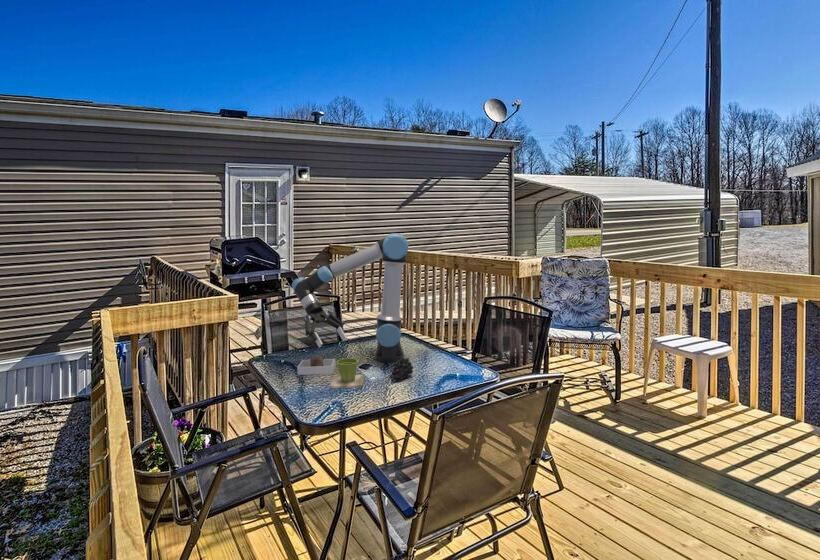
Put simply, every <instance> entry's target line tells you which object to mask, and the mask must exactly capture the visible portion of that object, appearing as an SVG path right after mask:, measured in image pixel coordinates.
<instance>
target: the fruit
mask: <svg viewBox="0 0 820 560" xmlns="http://www.w3.org/2000/svg"><path fill="white" fill-rule="evenodd" d="M392 366H393V368H392V369H391V370H390V373H391V374H389V375H390V376H389V378H390V379H391V380H393V382H397V381H398V379H399V381H400V380H401V381H402V380H403V378H408V377H409V376H410V375H411V374H413V372H414V366H413V364H412V362H411V361H410V359H409V358H405V357H404V358H402V359H401V360H397V361H395V362H393V364H392Z"/></svg>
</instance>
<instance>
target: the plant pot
mask: <svg viewBox="0 0 820 560" xmlns="http://www.w3.org/2000/svg"><path fill="white" fill-rule="evenodd" d="M358 362H359V360H358V359H357V358H352V357H346V358H341V359H338V360H336V365H337V367H338V371H339V376H340V377H341V381H343V382H350V381H354V380H355V375H357V374H356V373H357V365H358Z"/></svg>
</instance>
